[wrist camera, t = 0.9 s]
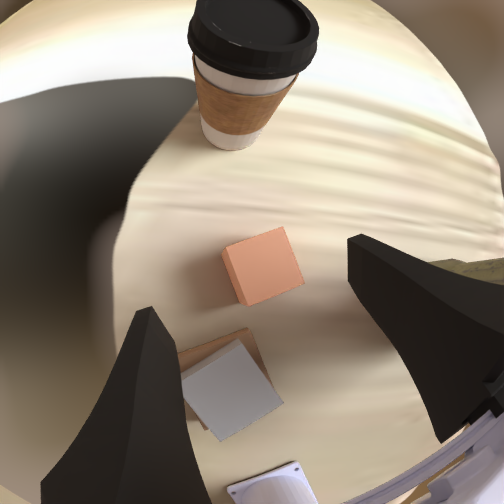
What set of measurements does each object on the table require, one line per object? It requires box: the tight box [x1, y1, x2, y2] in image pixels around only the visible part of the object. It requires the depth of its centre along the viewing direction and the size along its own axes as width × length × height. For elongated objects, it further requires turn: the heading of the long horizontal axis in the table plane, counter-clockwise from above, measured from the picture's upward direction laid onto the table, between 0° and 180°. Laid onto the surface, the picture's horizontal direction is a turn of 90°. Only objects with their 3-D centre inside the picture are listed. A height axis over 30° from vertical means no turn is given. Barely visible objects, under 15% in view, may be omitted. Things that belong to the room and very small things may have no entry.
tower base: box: [178, 328, 274, 430], centre depth 24 cm, size 7×7×2 cm
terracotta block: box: [221, 227, 305, 307], centre depth 24 cm, size 4×4×5 cm
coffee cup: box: [187, 0, 319, 150], centre depth 20 cm, size 8×8×15 cm
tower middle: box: [181, 338, 284, 442], centre depth 21 cm, size 6×6×2 cm
